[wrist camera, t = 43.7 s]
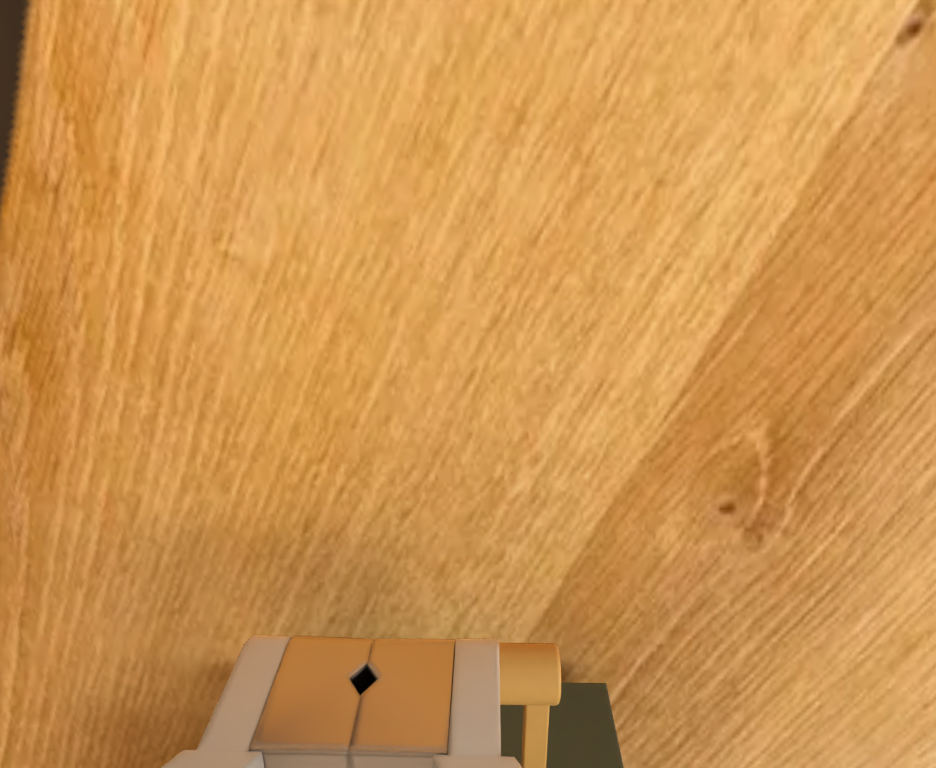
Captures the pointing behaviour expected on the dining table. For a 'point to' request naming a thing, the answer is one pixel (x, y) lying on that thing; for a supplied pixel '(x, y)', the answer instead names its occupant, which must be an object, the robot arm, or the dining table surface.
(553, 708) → the drawer
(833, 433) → the dining table surface
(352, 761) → the robot arm
